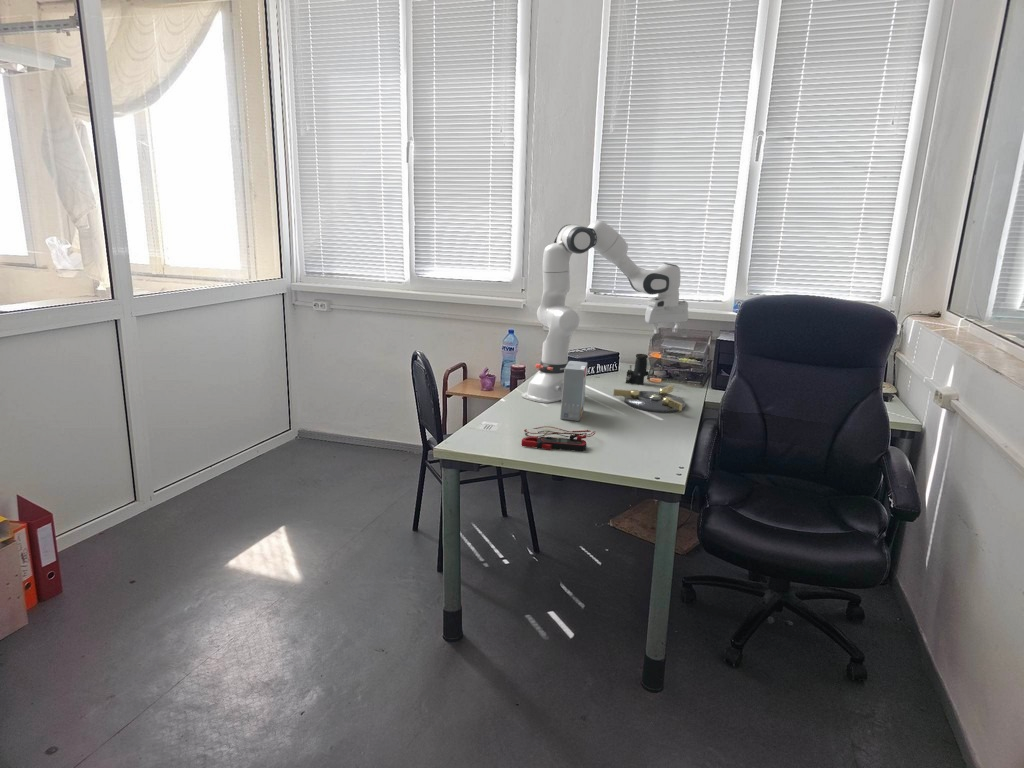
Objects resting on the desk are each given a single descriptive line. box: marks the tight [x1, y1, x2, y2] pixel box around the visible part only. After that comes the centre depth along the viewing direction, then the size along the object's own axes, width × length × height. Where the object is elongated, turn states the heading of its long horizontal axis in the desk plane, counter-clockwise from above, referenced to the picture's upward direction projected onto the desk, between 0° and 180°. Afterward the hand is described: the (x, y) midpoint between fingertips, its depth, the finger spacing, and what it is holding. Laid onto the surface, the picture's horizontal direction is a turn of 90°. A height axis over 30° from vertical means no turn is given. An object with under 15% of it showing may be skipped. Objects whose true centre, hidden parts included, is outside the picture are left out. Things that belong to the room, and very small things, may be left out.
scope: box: [625, 353, 650, 386], centre depth 298 cm, size 8×14×10 cm
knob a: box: [658, 384, 675, 396], centre depth 276 cm, size 11×4×3 cm, turn 143°
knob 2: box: [663, 397, 683, 412], centre depth 256 cm, size 11×4×3 cm, turn 23°
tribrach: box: [624, 390, 686, 414], centre depth 267 cm, size 25×25×4 cm
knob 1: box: [612, 388, 640, 398], centre depth 268 cm, size 11×4×3 cm, turn 83°
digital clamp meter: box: [521, 425, 596, 452], centre depth 219 cm, size 23×4×25 cm
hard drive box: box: [559, 360, 588, 422], centre depth 245 cm, size 16×8×20 cm, turn 168°
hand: (665, 332), depth 279 cm, fingers open, 8 cm apart
